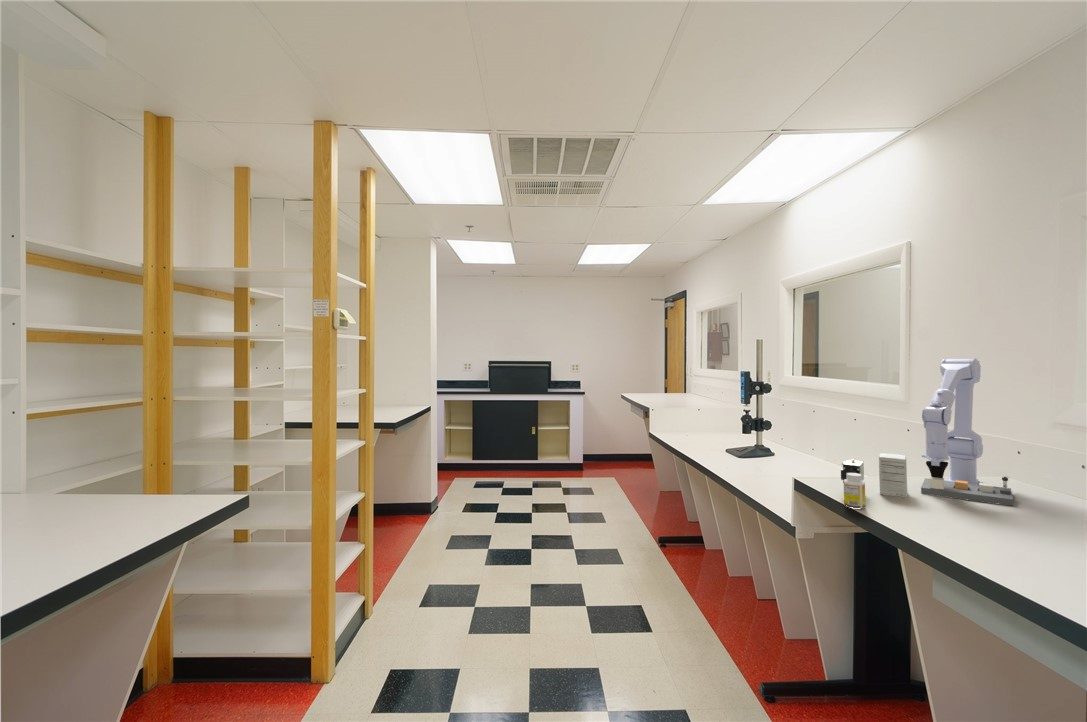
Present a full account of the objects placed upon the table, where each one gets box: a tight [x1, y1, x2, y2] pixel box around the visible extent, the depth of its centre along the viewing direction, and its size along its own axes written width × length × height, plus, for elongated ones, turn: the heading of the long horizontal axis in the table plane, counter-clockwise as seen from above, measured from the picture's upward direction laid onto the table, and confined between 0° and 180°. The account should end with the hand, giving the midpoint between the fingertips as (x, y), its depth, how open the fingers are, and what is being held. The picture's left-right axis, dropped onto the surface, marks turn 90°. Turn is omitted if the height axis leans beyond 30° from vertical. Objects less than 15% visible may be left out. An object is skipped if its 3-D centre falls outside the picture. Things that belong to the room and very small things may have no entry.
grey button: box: [978, 482, 994, 493], centre depth 157 cm, size 3×3×2 cm
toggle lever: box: [1001, 476, 1009, 488], centre depth 155 cm, size 2×2×3 cm
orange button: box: [955, 480, 968, 490], centre depth 161 cm, size 3×3×2 cm
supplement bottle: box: [843, 473, 866, 508], centre depth 150 cm, size 6×6×10 cm
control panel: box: [920, 478, 1014, 506], centre depth 161 cm, size 15×22×3 cm
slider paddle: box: [928, 476, 945, 490], centre depth 161 cm, size 3×4×3 cm
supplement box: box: [878, 452, 908, 498], centre depth 163 cm, size 7×7×13 cm
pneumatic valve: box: [840, 458, 865, 484], centre depth 163 cm, size 6×12×12 cm, turn 140°
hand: (937, 483), depth 163 cm, fingers closed
